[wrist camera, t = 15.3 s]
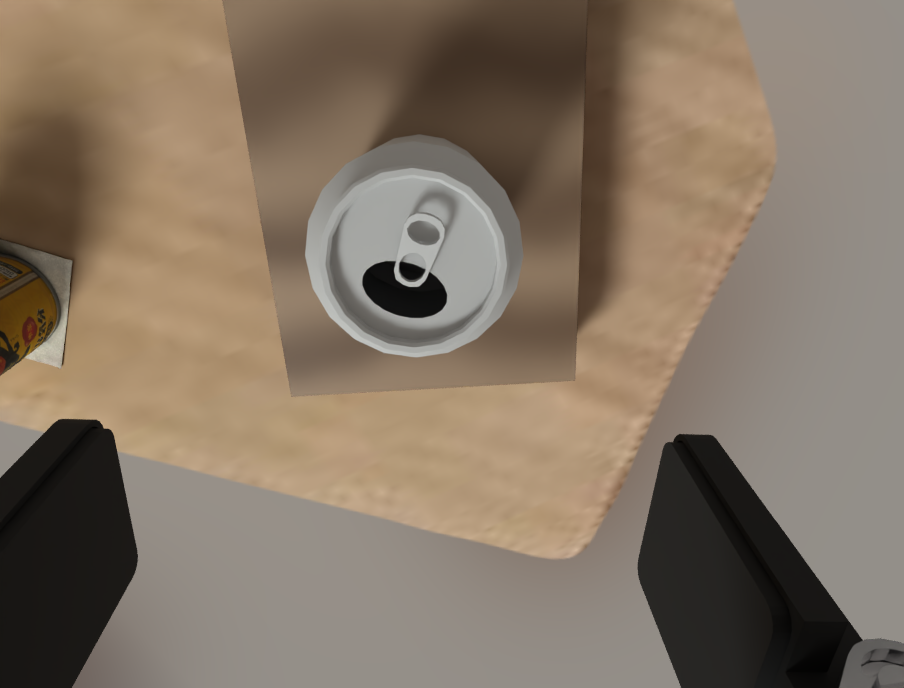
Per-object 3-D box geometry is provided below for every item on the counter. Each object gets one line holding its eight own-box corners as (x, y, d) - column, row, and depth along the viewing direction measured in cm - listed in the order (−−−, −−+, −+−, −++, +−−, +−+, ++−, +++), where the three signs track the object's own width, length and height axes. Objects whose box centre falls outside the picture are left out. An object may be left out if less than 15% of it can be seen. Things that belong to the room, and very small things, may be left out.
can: (327, 261, 33) (270, 338, 21) (367, 111, 30) (328, 107, 19) (467, 305, 34) (485, 401, 22) (517, 163, 31) (565, 189, 20)
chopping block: (250, 1, 33) (221, -7, 28) (567, -16, 33) (588, -27, 28) (307, 358, 41) (291, 396, 36) (559, 344, 41) (575, 380, 36)
